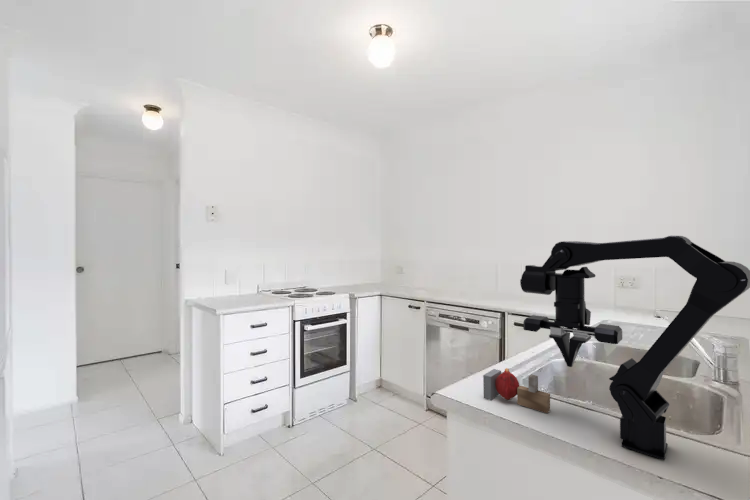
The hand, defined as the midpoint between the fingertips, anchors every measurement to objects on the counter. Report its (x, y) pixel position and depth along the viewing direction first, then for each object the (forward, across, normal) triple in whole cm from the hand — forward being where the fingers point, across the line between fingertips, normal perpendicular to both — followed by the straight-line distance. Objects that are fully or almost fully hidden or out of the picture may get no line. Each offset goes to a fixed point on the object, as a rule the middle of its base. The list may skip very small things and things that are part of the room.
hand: (570, 366), depth 78 cm
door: (+12, +8, 0) cm, 14 cm away
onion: (+12, +14, 0) cm, 19 cm away
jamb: (+12, +18, 0) cm, 22 cm away
